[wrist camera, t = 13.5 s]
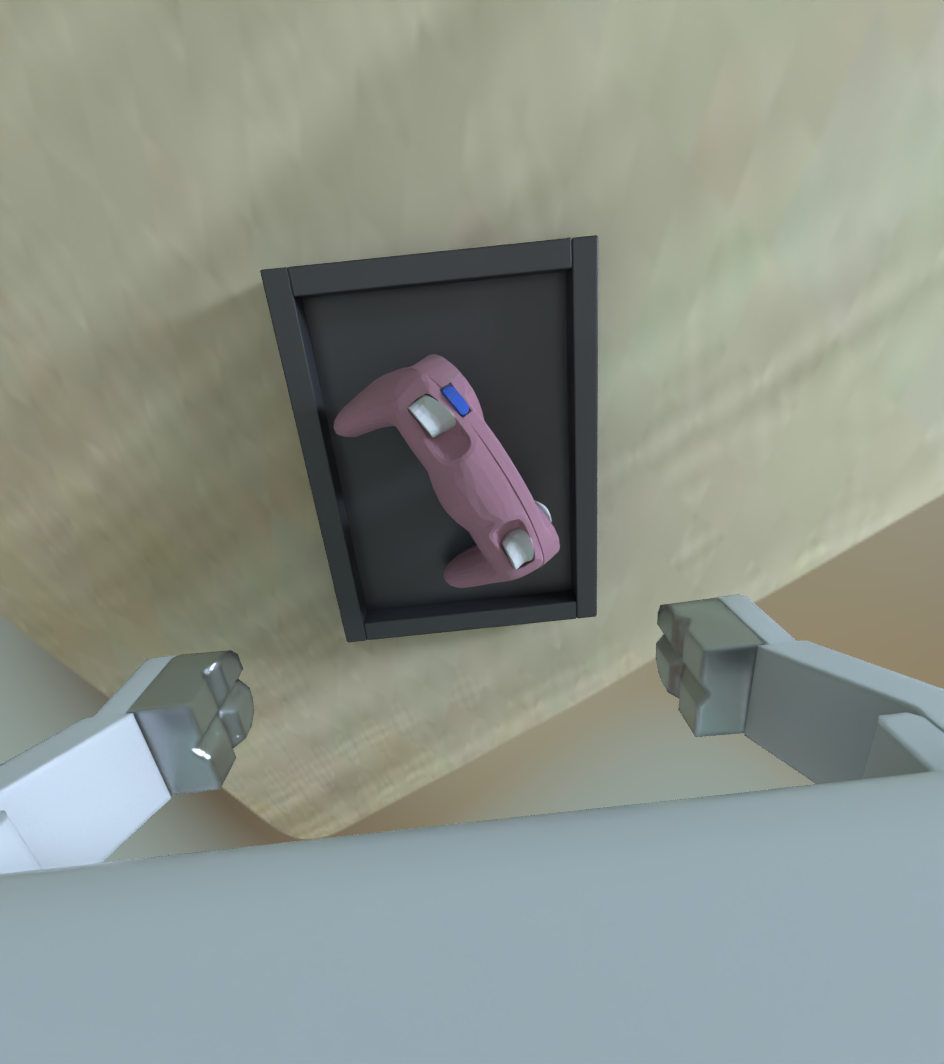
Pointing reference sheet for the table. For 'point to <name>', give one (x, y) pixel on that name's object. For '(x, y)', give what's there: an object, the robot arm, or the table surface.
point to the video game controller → (459, 468)
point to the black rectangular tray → (507, 405)
